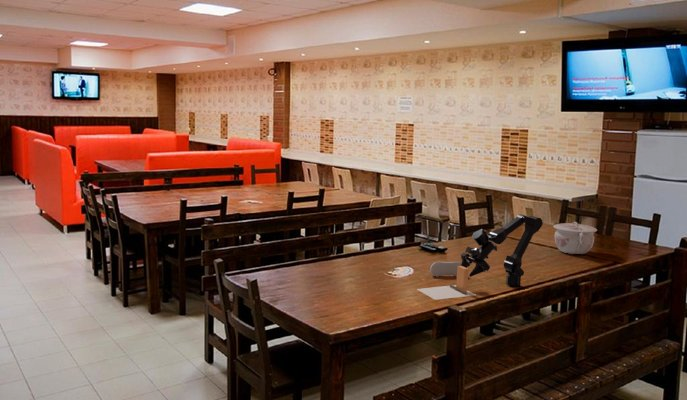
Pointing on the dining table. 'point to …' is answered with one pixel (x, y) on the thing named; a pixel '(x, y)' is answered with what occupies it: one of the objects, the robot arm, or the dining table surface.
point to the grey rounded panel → (444, 268)
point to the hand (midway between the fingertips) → (464, 273)
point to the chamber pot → (574, 237)
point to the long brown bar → (458, 290)
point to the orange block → (462, 278)
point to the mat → (443, 292)
